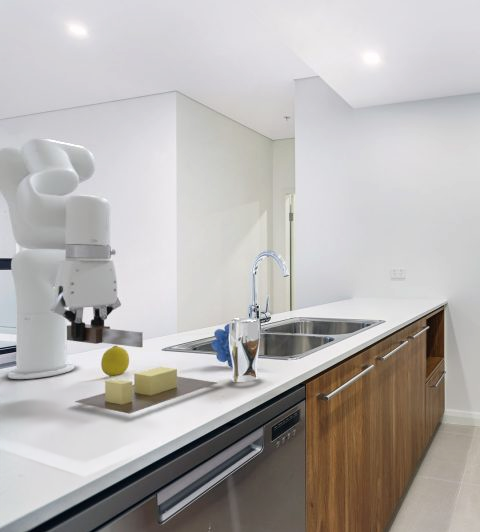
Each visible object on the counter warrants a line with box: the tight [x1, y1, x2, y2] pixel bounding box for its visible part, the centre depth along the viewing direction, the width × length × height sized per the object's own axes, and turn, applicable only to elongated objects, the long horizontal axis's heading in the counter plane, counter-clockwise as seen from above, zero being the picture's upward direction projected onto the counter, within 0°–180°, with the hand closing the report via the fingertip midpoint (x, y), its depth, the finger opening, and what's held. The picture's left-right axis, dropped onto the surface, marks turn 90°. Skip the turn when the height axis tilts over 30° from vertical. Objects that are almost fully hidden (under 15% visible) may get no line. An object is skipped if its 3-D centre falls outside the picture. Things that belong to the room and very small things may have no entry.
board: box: [74, 376, 217, 415], centre depth 84 cm, size 16×20×1 cm
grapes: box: [210, 323, 233, 369], centre depth 106 cm, size 12×7×12 cm, turn 108°
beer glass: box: [229, 317, 262, 383], centre depth 93 cm, size 7×7×15 cm
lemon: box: [100, 345, 130, 377], centre depth 97 cm, size 6×6×8 cm
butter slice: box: [104, 378, 133, 405], centre depth 77 cm, size 5×2×4 cm, turn 68°
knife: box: [67, 323, 144, 348], centre depth 83 cm, size 22×3×3 cm, turn 68°
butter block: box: [133, 366, 178, 396], centre depth 84 cm, size 5×6×4 cm
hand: (88, 338), depth 85 cm, fingers closed on knife, 2 cm apart
